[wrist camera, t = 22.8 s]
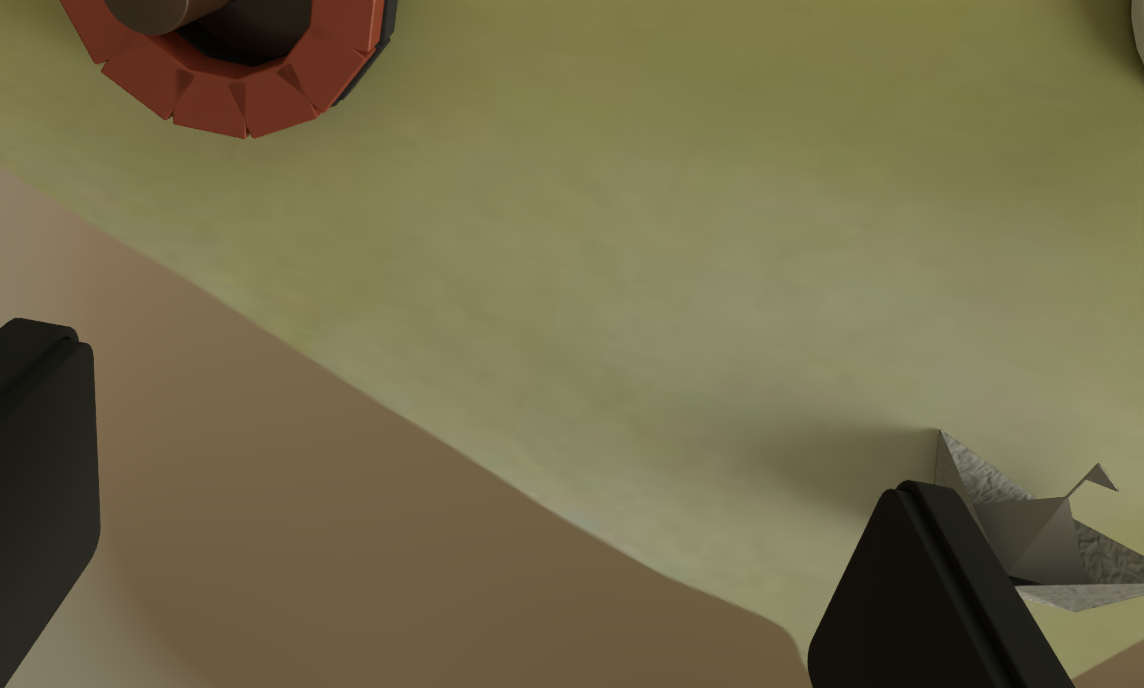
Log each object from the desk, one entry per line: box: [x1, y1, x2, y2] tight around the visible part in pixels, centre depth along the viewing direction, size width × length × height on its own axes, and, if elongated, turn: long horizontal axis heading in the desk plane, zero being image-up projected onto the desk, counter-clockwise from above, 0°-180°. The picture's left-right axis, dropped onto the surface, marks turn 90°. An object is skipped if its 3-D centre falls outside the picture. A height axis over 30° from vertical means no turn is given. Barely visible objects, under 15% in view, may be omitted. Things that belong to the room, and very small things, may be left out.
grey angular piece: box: [934, 430, 1144, 612], centre depth 42 cm, size 12×6×9 cm
